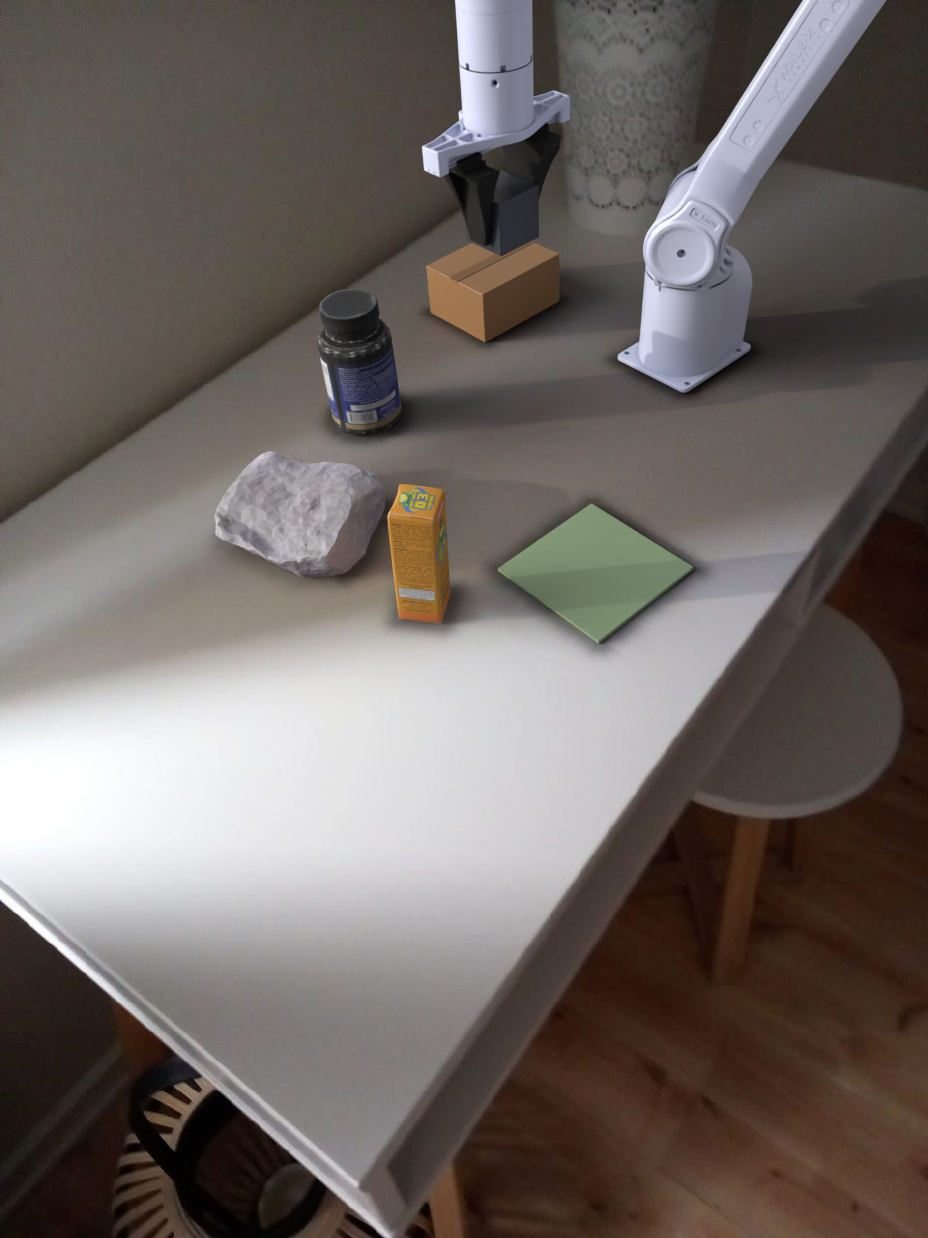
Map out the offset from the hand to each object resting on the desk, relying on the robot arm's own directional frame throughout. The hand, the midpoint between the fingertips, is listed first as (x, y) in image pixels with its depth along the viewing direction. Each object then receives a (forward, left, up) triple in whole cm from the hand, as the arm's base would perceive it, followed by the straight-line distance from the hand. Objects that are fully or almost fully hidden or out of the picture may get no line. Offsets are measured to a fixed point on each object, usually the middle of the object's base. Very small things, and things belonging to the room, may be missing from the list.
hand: (502, 230), depth 85 cm
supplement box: (+28, +21, -11) cm, 37 cm away
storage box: (-3, -5, -10) cm, 12 cm away
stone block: (+30, +8, -11) cm, 33 cm away
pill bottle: (+17, 0, -11) cm, 20 cm away
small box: (0, 0, -1) cm, 1 cm away
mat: (+17, +27, -10) cm, 34 cm away
